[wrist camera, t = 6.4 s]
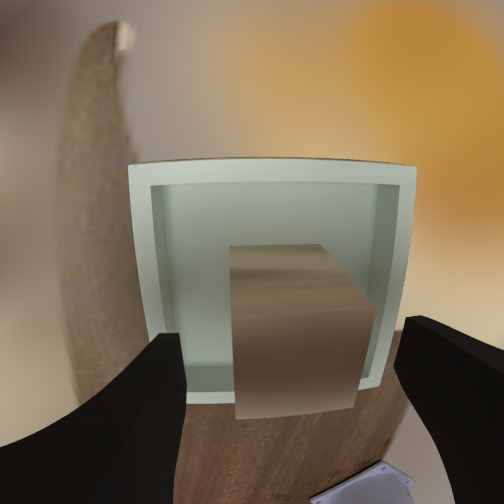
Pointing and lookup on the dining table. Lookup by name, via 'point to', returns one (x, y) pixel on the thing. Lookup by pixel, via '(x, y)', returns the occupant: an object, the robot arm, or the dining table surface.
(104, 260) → the dining table surface
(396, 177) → the sage tray
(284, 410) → the maple block
